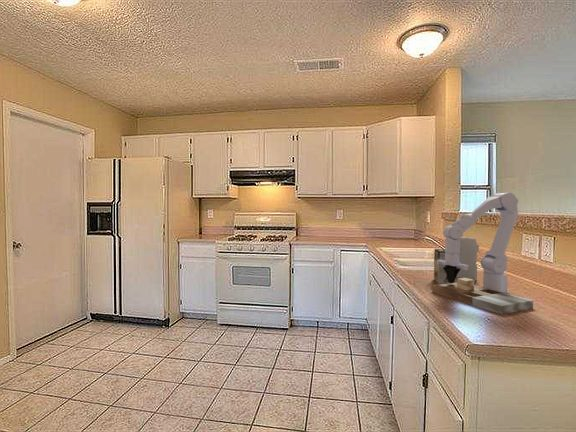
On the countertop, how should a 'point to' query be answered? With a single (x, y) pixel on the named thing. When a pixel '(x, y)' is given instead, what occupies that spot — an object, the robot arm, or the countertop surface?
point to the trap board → (484, 298)
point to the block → (465, 283)
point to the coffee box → (439, 267)
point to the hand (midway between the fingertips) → (451, 282)
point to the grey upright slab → (468, 258)
